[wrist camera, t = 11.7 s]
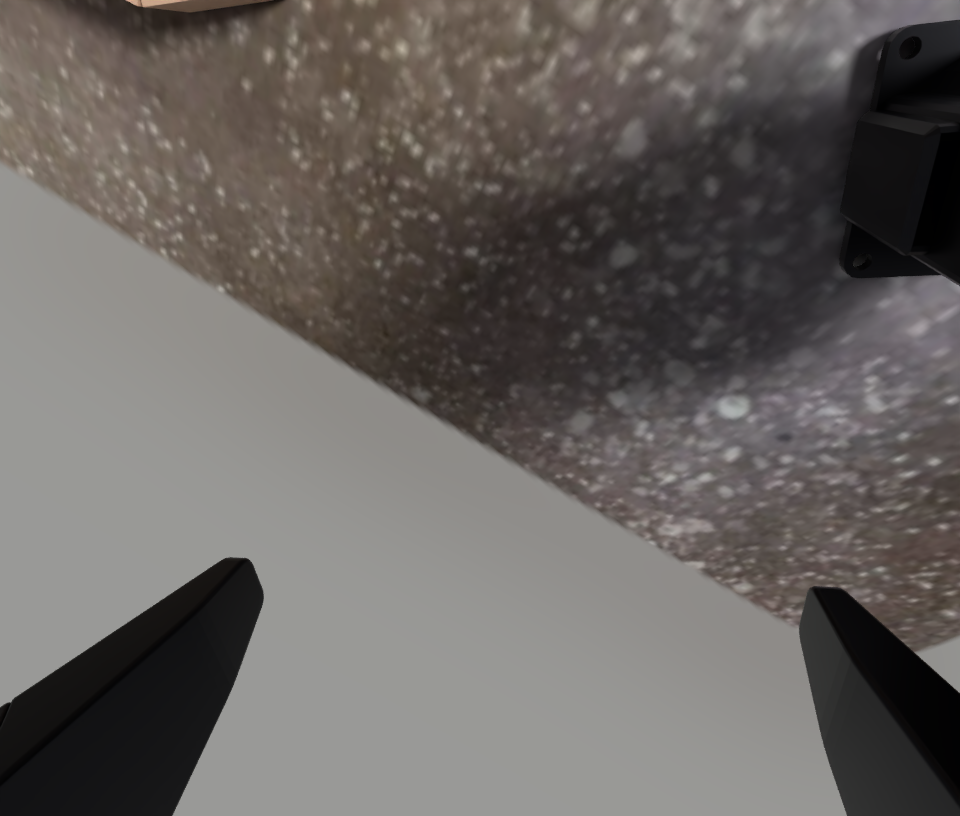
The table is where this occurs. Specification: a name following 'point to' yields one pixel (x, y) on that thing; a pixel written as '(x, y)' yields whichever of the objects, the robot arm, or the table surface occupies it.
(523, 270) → the table surface
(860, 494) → the table surface
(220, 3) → the bowl
